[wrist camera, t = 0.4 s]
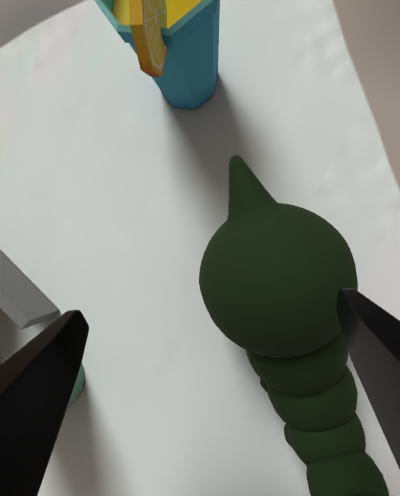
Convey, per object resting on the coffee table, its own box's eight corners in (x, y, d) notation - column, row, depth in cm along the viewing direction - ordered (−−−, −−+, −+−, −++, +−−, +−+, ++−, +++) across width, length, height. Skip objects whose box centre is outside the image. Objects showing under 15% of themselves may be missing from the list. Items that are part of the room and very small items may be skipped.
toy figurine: (374, 426, 25) (285, 157, 23) (825, 1060, 6) (515, -97, 5) (272, 451, 26) (181, 196, 25) (384, 1043, 7) (29, 120, 6)
